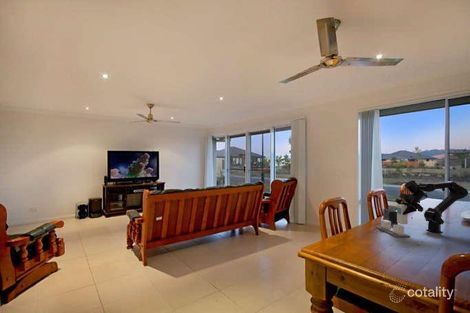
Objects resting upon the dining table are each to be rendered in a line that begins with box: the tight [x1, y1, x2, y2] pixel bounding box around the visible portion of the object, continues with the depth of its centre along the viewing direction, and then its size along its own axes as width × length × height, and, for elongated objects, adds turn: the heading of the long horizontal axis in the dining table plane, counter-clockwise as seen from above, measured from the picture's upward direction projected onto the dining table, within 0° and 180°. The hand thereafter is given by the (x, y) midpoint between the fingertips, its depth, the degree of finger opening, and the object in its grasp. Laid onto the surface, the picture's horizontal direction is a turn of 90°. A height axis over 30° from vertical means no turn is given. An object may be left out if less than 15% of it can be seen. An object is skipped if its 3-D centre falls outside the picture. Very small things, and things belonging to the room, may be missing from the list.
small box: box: [382, 208, 399, 226], centre depth 179 cm, size 11×6×10 cm, turn 168°
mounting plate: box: [375, 219, 411, 239], centre depth 158 cm, size 9×20×6 cm, turn 2°
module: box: [396, 204, 409, 225], centre depth 158 cm, size 4×4×12 cm
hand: (400, 213), depth 158 cm, fingers closed on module, 4 cm apart
